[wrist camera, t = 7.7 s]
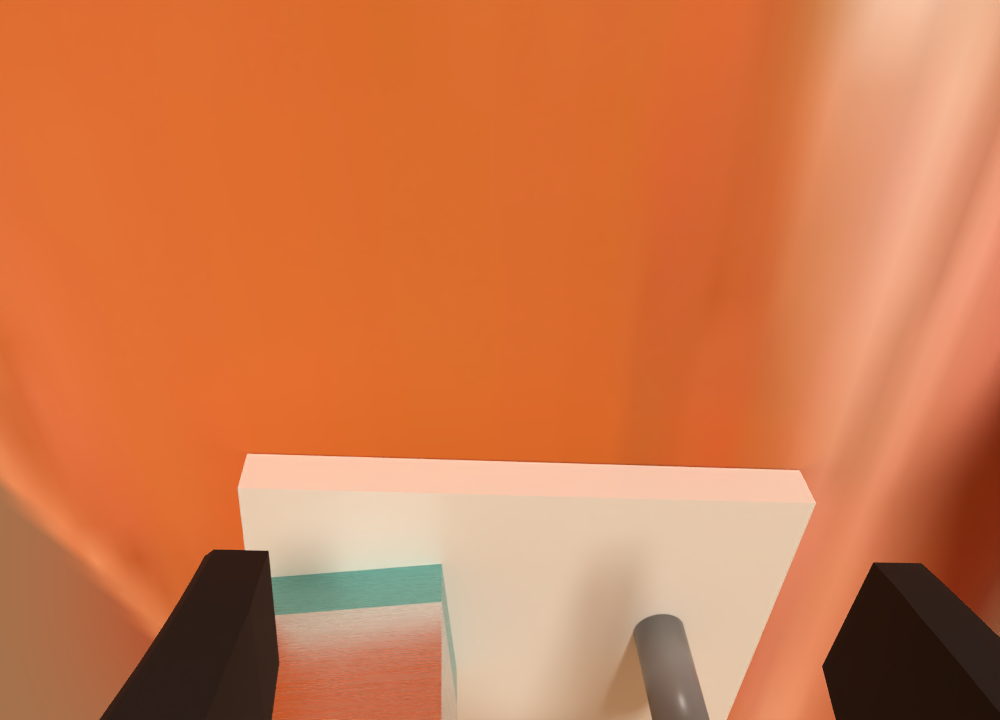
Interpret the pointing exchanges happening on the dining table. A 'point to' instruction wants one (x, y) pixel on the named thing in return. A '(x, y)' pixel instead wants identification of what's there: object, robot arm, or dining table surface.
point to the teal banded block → (364, 646)
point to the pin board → (555, 569)
